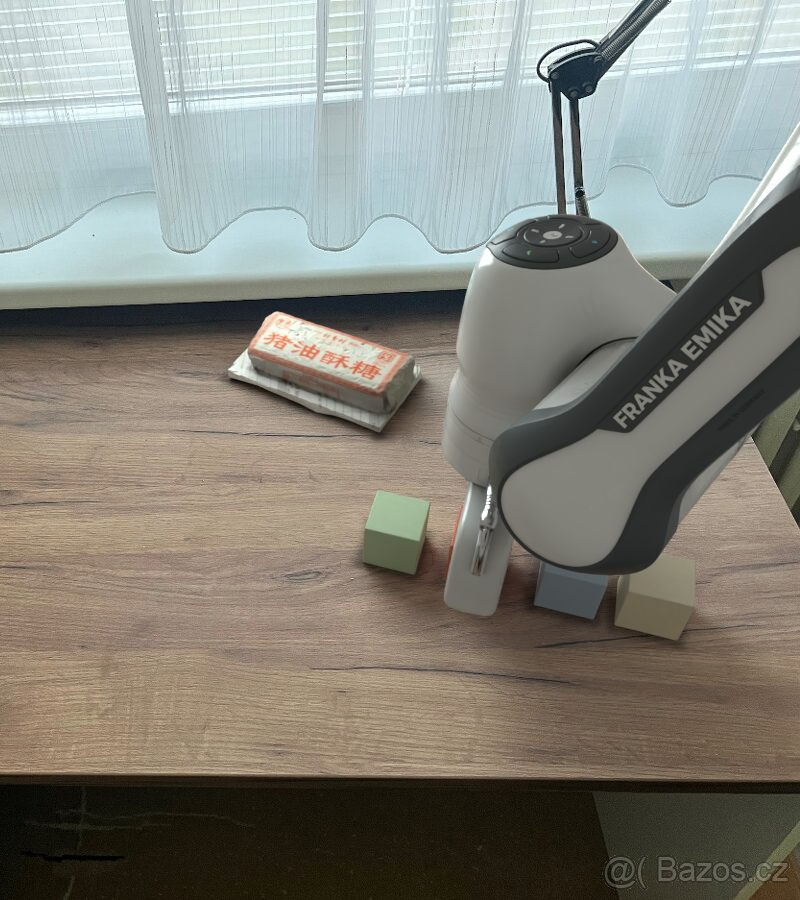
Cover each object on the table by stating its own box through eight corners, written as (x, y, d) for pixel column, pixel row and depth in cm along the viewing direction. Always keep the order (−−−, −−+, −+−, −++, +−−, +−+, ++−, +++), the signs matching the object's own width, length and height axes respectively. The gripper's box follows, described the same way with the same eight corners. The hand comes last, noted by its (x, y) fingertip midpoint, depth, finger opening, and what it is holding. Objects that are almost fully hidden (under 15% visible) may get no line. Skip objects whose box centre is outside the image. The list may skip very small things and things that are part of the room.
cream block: (678, 595, 70) (696, 560, 66) (677, 641, 67) (695, 607, 64) (617, 580, 71) (632, 546, 68) (613, 625, 68) (628, 591, 65)
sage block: (425, 535, 76) (431, 501, 73) (414, 575, 73) (419, 541, 70) (374, 523, 77) (377, 489, 74) (361, 562, 75) (364, 528, 71)
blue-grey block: (597, 576, 72) (611, 541, 68) (593, 620, 69) (607, 586, 66) (540, 562, 73) (550, 528, 70) (533, 605, 70) (544, 571, 67)
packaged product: (428, 341, 87) (383, 400, 82) (423, 378, 90) (380, 437, 85) (273, 292, 95) (223, 343, 90) (274, 328, 99) (226, 378, 93)
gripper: (536, 553, 54) (500, 670, 64) (569, 352, 67) (535, 475, 77) (433, 529, 56) (414, 646, 66) (484, 338, 69) (462, 460, 79)
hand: (480, 552), depth 72 cm, fingers closed on coral block, 4 cm apart
